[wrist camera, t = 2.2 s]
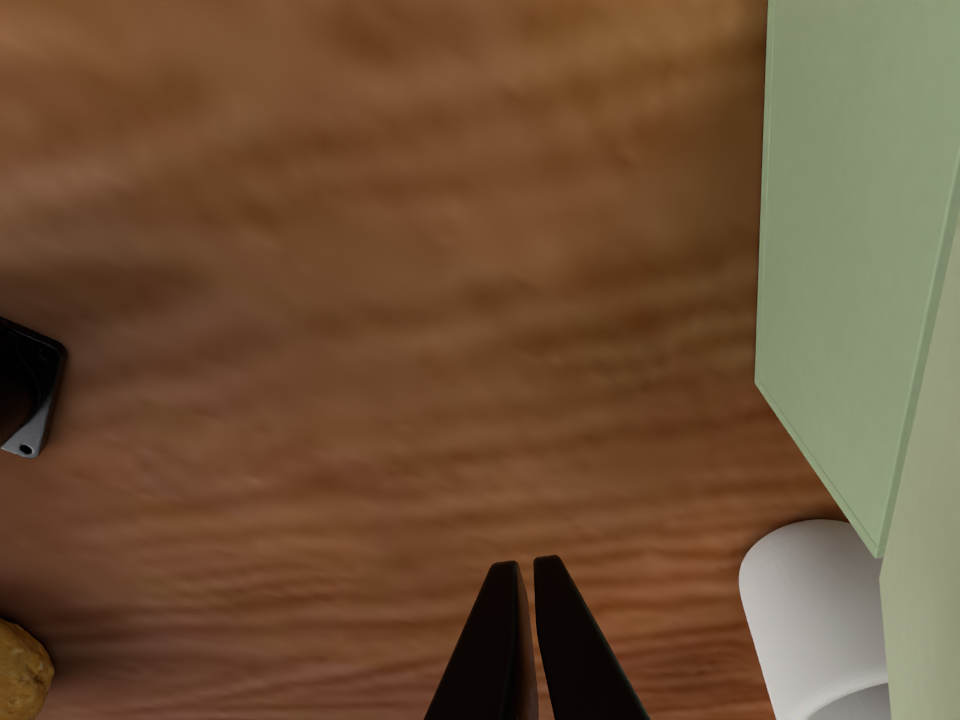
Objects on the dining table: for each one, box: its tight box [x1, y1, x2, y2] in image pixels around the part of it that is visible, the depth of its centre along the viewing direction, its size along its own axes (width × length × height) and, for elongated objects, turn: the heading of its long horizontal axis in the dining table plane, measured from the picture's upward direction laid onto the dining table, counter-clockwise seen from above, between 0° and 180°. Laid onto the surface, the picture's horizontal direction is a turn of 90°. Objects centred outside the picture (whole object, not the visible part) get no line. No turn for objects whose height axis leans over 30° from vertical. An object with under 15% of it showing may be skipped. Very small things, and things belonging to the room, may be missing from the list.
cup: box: [739, 519, 891, 720], centre depth 26 cm, size 11×8×8 cm
